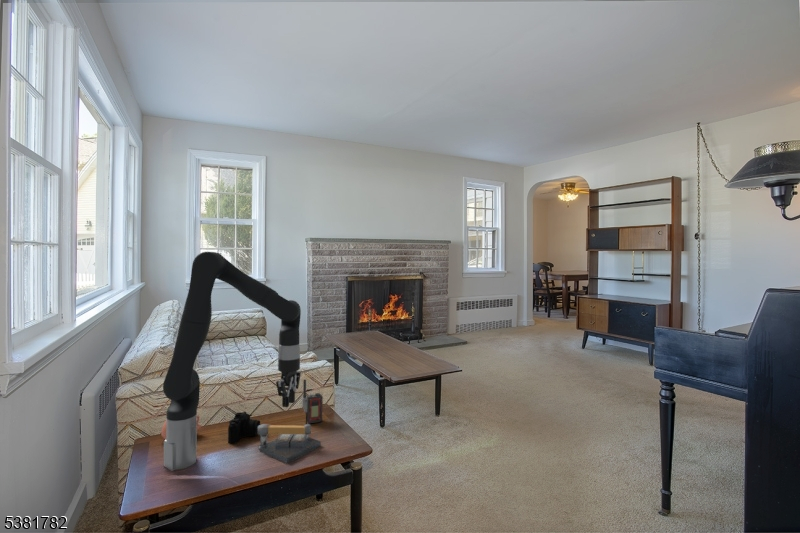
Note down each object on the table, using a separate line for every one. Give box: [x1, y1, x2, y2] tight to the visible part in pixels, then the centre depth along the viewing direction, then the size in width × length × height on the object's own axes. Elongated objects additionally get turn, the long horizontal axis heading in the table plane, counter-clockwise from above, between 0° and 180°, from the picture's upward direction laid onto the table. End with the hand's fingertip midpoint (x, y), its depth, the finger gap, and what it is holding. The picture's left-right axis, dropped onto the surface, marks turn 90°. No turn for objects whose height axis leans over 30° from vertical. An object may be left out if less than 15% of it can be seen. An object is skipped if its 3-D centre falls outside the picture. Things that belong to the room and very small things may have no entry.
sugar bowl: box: [160, 414, 202, 440], centre depth 160 cm, size 12×14×10 cm
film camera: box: [227, 411, 261, 445], centre depth 161 cm, size 15×10×9 cm, turn 178°
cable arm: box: [257, 423, 312, 436], centre depth 151 cm, size 20×4×3 cm, turn 90°
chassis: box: [259, 434, 322, 464], centre depth 150 cm, size 16×15×4 cm
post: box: [257, 434, 268, 450], centre depth 151 cm, size 4×4×5 cm
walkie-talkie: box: [301, 379, 324, 425], centre depth 173 cm, size 9×4×20 cm, turn 113°
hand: (288, 404), depth 143 cm, fingers open, 3 cm apart
